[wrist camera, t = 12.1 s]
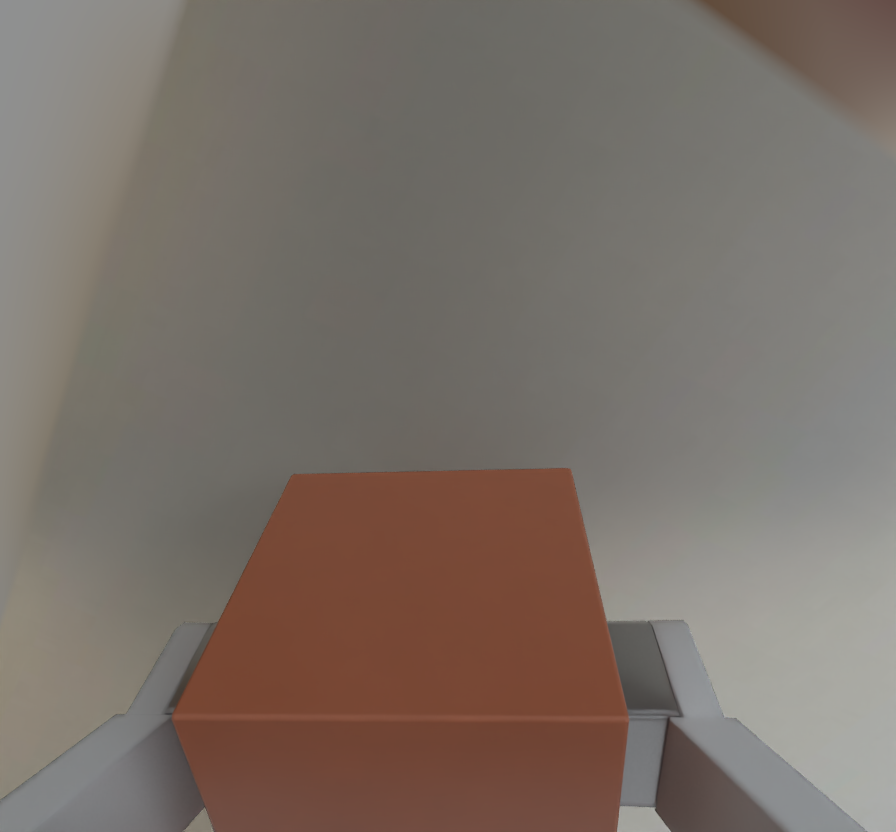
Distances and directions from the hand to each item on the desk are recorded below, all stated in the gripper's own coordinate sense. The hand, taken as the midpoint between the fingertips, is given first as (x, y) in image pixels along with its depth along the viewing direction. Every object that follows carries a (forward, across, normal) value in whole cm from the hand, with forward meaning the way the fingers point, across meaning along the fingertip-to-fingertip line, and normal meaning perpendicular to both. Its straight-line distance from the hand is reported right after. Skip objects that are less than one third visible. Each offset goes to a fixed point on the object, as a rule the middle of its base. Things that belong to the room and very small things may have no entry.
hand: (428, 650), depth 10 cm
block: (+2, 0, 0) cm, 2 cm away
